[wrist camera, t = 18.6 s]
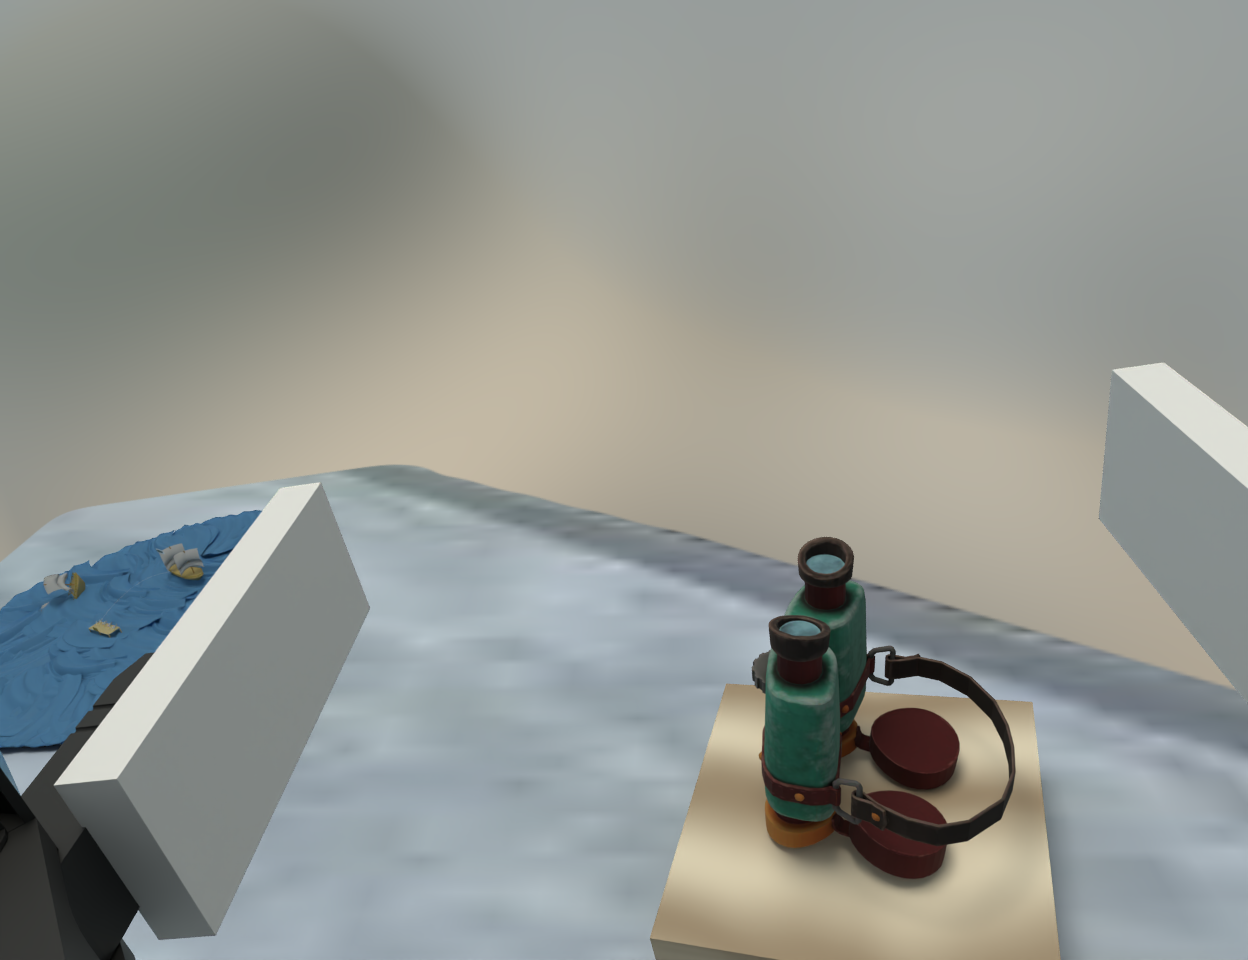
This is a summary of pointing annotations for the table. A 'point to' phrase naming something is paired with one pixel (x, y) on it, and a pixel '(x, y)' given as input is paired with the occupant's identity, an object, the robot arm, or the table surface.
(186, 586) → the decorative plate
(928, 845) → the binoculars
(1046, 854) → the birch block
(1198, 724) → the table surface
